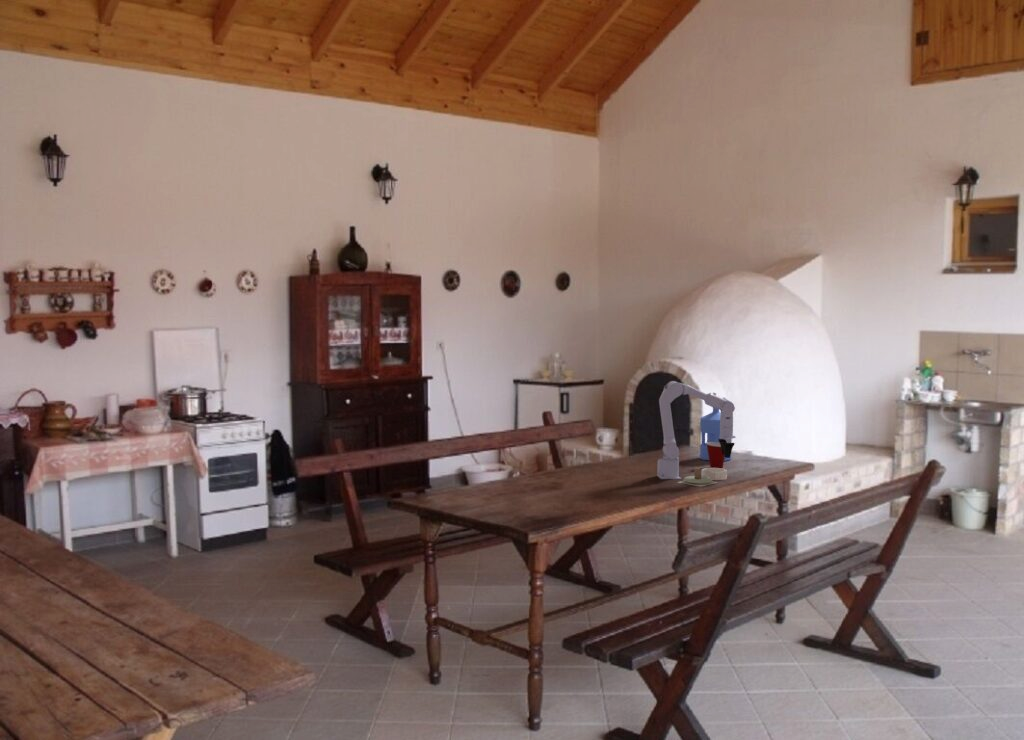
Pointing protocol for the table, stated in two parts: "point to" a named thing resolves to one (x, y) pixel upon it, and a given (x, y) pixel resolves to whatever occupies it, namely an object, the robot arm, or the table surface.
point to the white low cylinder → (714, 473)
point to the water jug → (710, 432)
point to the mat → (697, 484)
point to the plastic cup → (715, 454)
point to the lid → (697, 478)
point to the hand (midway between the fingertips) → (726, 456)
